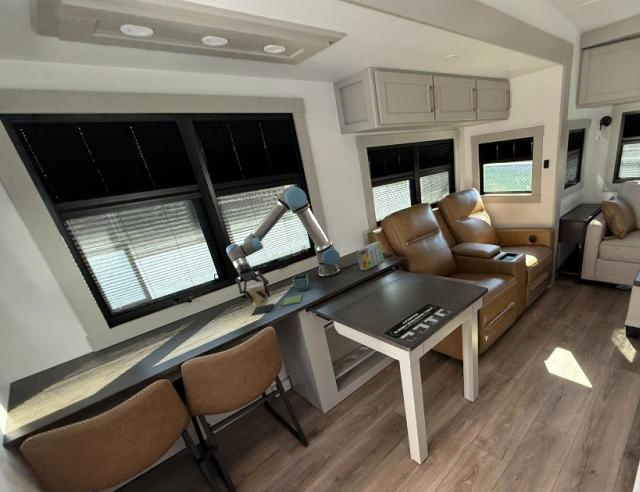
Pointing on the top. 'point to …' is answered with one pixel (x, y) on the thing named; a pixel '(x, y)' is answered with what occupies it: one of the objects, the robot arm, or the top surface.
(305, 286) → the flower pot
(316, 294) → the top surface
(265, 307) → the slate mat
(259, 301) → the coffee cup
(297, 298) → the sage mat
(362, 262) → the snack box
